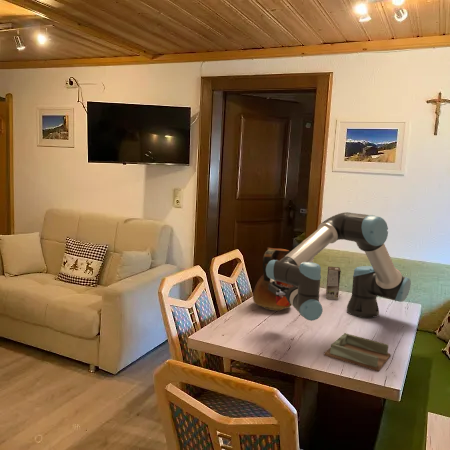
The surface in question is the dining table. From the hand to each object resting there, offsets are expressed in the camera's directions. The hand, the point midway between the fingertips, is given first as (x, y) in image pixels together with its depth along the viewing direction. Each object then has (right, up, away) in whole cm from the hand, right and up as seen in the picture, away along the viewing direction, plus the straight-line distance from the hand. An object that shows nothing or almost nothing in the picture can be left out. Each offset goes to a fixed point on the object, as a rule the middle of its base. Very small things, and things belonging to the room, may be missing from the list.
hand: (280, 281), depth 188 cm
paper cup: (0, -9, -3) cm, 10 cm away
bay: (+26, -25, -23) cm, 43 cm away
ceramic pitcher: (0, -17, +28) cm, 33 cm away
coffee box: (+34, -15, +50) cm, 63 cm away
